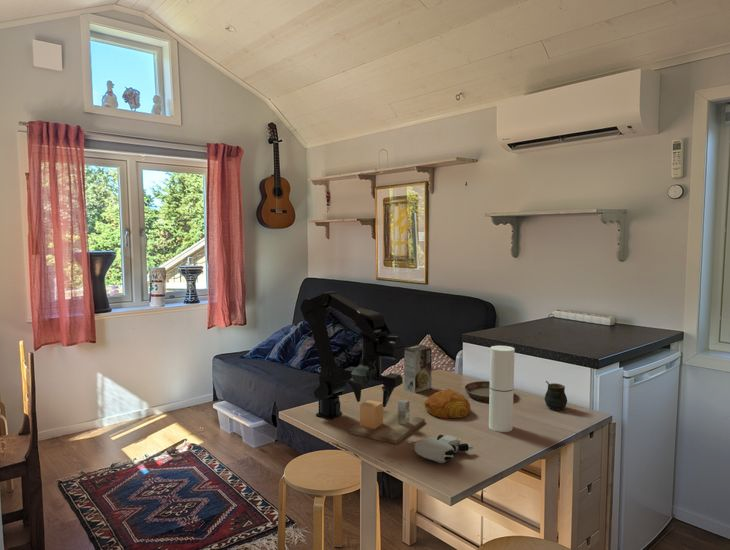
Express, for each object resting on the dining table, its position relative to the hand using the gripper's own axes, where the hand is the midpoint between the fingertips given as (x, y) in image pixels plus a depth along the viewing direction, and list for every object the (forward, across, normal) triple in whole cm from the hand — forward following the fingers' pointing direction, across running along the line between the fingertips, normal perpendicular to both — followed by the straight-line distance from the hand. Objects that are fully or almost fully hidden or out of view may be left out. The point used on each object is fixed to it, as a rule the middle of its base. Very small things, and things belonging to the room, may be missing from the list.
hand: (371, 404), depth 164 cm
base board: (+8, +4, +3) cm, 9 cm away
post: (+6, +8, +6) cm, 12 cm away
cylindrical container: (+8, +34, +21) cm, 41 cm away
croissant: (+8, +14, +26) cm, 31 cm away
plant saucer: (+8, +21, +50) cm, 55 cm away
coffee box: (+8, -5, +44) cm, 45 cm away
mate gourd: (+8, +45, +48) cm, 66 cm away
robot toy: (+8, +26, -7) cm, 28 cm away
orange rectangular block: (+6, 0, 0) cm, 6 cm away
